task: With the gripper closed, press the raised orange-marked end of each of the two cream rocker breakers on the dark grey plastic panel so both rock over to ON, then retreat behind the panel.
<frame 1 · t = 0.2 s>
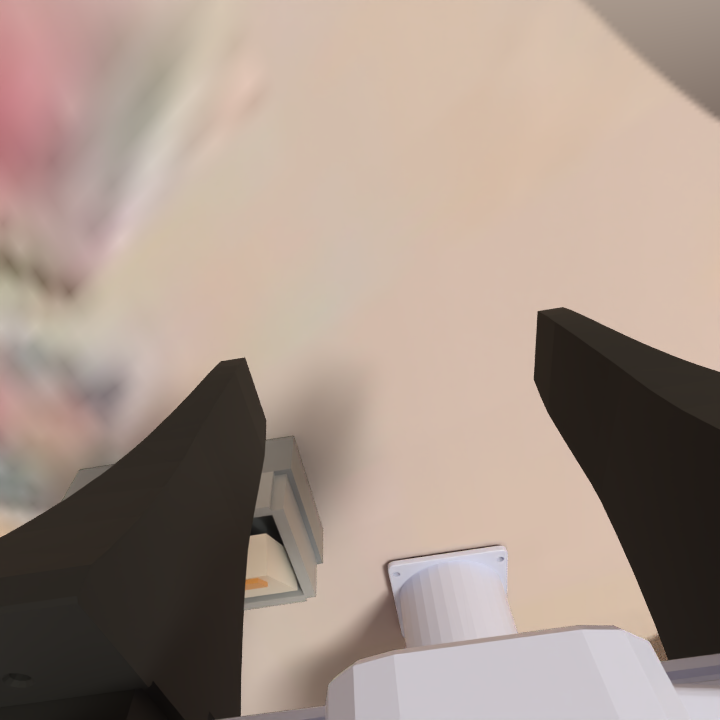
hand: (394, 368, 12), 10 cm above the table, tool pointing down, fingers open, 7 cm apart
breaker panel: (209, 501, 29), on the table
breaker a: (250, 571, 25), point 5 cm above the table, hinge at -25.0°
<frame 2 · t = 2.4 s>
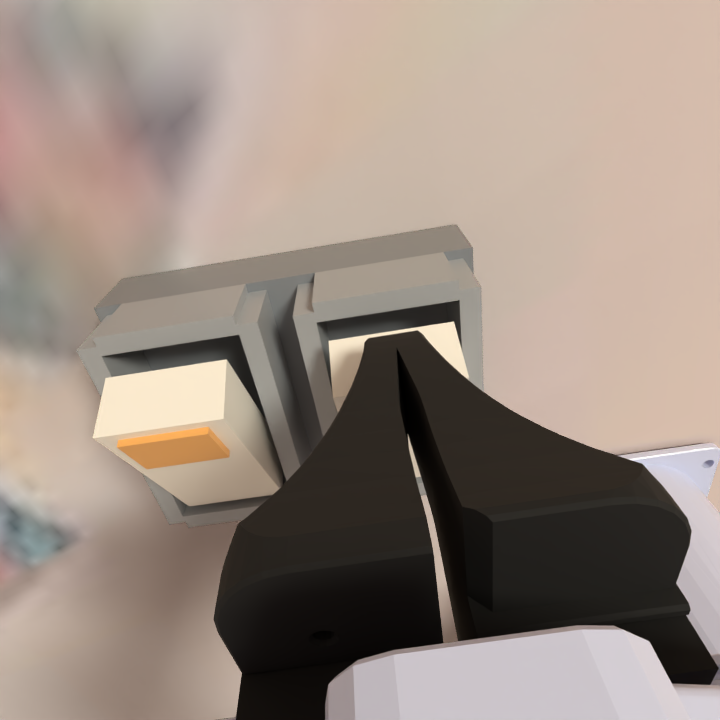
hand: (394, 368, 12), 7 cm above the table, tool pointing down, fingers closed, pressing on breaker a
breaker b: (205, 445, 15), point 5 cm above the table, hinge at -25.0°
breaker panel: (309, 348, 19), on the table
breaker a: (402, 416, 15), point 5 cm above the table, hinge at -22.7°, touching gripper
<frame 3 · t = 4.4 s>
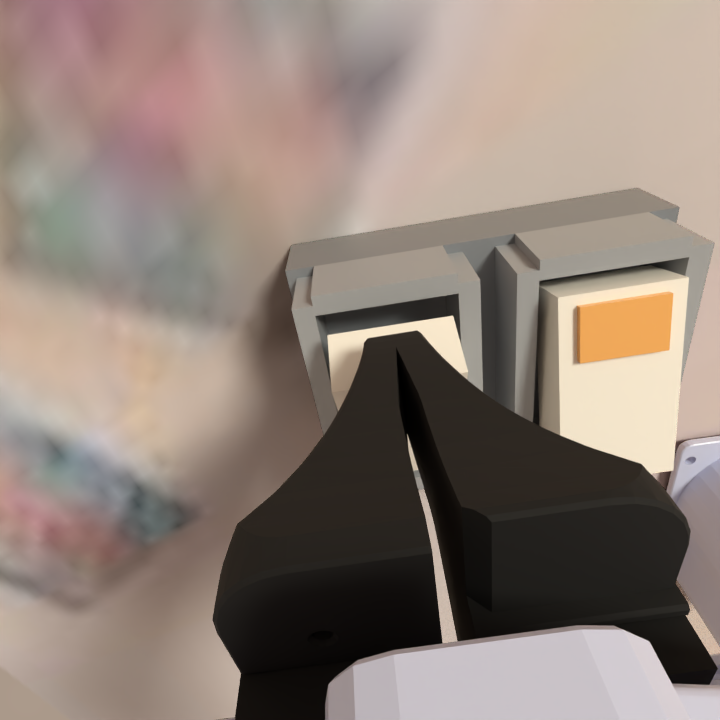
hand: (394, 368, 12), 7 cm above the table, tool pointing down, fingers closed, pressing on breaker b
breaker b: (401, 410, 15), point 5 cm above the table, hinge at -23.4°, touching gripper
breaker panel: (466, 318, 19), on the table
breaker a: (606, 379, 15), point 5 cm above the table, hinge at 11.4°
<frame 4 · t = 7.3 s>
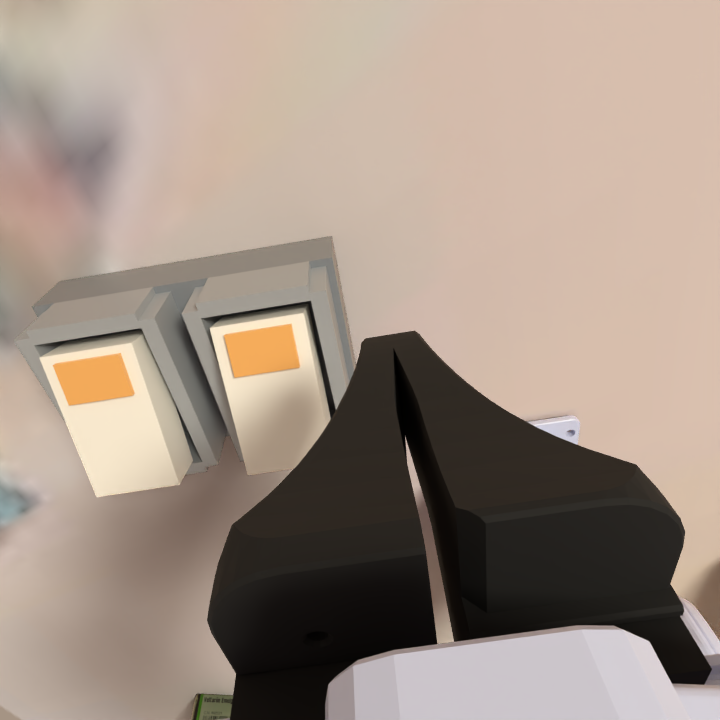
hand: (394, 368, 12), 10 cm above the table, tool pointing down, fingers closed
breaker b: (122, 415, 19), point 5 cm above the table, hinge at 13.3°
breaker panel: (222, 337, 23), on the table
breaker a: (277, 390, 19), point 5 cm above the table, hinge at 16.1°
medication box: (263, 699, 45), on the table
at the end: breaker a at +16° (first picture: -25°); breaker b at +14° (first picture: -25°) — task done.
